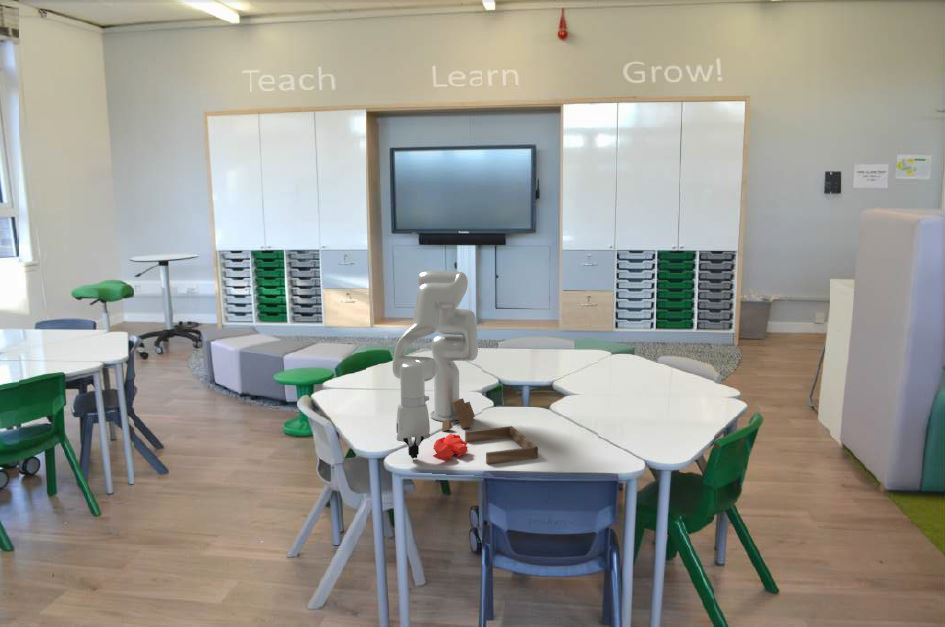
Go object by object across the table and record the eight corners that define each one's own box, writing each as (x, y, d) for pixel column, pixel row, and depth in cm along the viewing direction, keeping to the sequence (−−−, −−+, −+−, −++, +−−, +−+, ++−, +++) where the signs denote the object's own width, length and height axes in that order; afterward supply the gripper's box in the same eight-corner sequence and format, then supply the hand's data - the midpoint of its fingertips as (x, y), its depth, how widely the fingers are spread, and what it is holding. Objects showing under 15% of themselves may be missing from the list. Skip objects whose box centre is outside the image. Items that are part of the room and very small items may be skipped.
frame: (465, 441, 239) (465, 431, 238) (511, 435, 244) (511, 426, 244) (487, 464, 218) (487, 453, 218) (537, 457, 224) (537, 447, 223)
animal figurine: (428, 464, 219) (427, 449, 218) (436, 447, 234) (436, 432, 233) (464, 465, 218) (464, 450, 217) (470, 448, 232) (470, 433, 232)
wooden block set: (466, 424, 265) (457, 398, 266) (485, 418, 261) (475, 392, 262) (443, 436, 249) (433, 409, 250) (463, 430, 245) (453, 402, 246)
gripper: (432, 395, 225) (433, 450, 228) (386, 400, 220) (388, 455, 223) (439, 402, 218) (439, 458, 221) (391, 406, 213) (393, 464, 216)
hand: (413, 456), depth 222 cm, fingers closed
